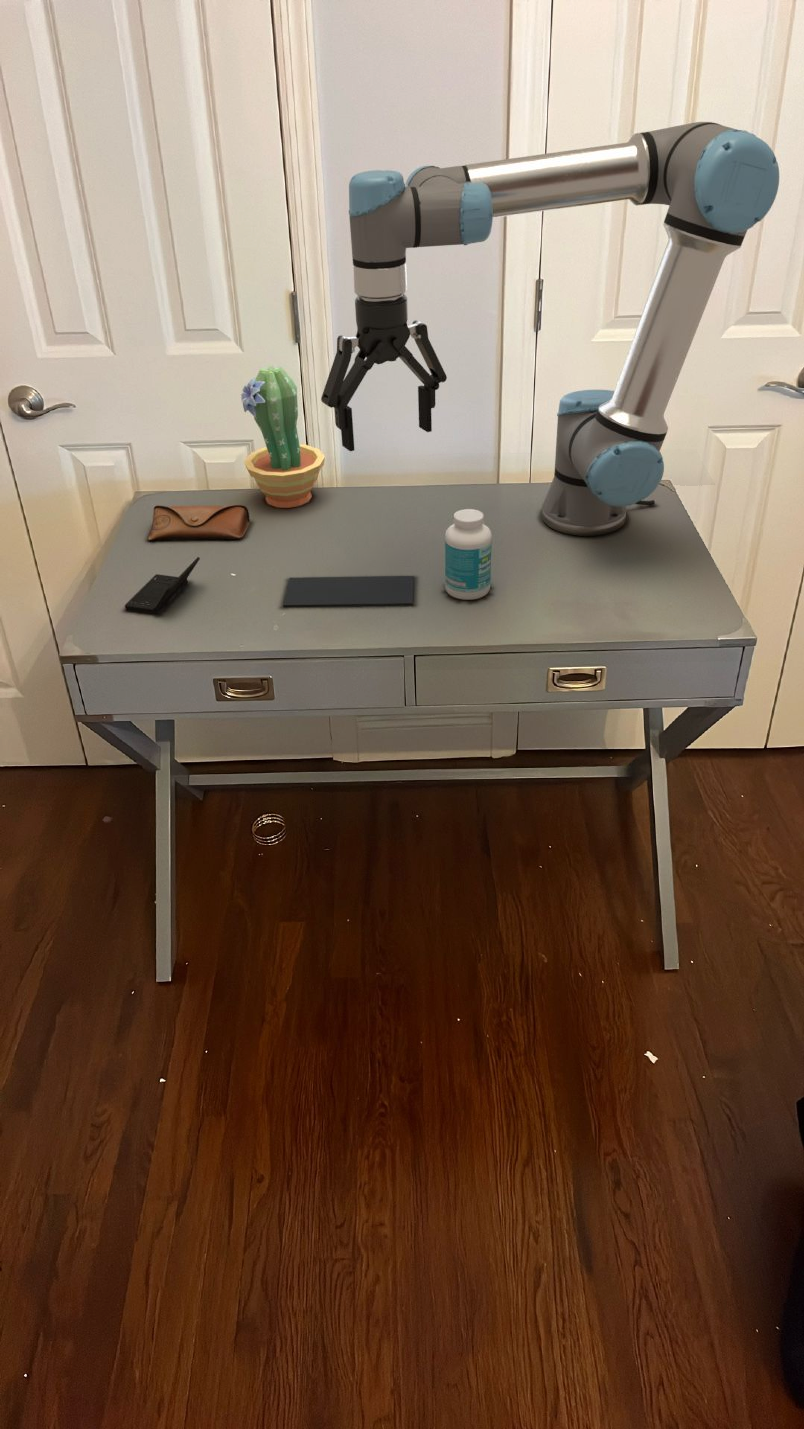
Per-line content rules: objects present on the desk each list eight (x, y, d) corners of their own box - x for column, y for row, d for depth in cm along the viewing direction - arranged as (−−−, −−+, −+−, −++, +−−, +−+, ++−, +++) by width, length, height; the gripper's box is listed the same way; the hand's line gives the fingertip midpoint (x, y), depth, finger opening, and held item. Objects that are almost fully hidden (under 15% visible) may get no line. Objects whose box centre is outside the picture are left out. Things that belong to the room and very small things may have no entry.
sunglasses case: (145, 540, 180) (143, 503, 180) (156, 543, 187) (154, 507, 187) (243, 538, 180) (242, 501, 179) (250, 541, 187) (249, 505, 186)
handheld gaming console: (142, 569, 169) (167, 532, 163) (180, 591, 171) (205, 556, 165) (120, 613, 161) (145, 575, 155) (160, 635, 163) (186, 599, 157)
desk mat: (413, 577, 168) (413, 575, 167) (412, 605, 160) (412, 603, 160) (289, 579, 168) (289, 577, 168) (283, 607, 161) (283, 605, 161)
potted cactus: (251, 483, 200) (235, 357, 185) (328, 479, 201) (317, 353, 186) (246, 517, 188) (228, 385, 173) (328, 512, 188) (317, 381, 173)
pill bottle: (487, 603, 160) (488, 527, 152) (441, 600, 161) (441, 524, 153) (493, 580, 166) (495, 506, 158) (449, 577, 167) (448, 503, 159)
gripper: (442, 276, 149) (443, 414, 162) (290, 303, 140) (304, 448, 152) (469, 286, 144) (468, 429, 156) (312, 315, 134) (325, 464, 147)
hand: (387, 438), depth 154 cm, fingers open, 13 cm apart
